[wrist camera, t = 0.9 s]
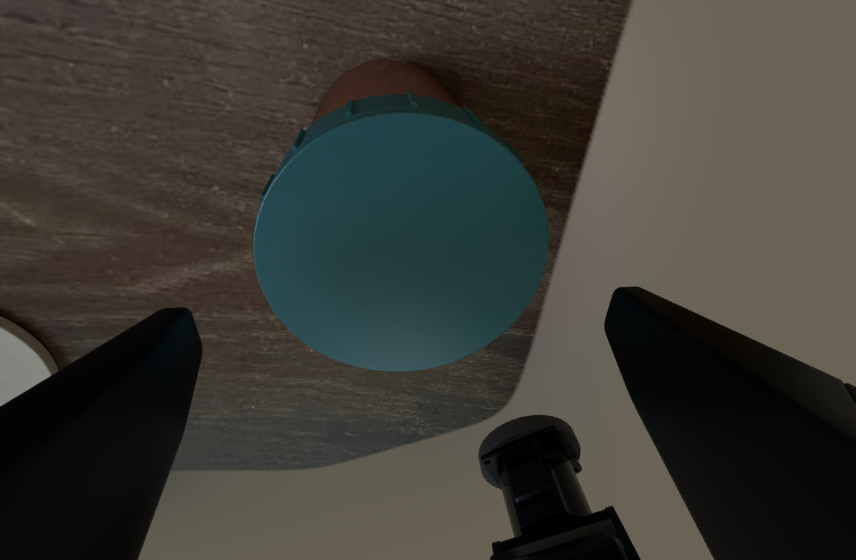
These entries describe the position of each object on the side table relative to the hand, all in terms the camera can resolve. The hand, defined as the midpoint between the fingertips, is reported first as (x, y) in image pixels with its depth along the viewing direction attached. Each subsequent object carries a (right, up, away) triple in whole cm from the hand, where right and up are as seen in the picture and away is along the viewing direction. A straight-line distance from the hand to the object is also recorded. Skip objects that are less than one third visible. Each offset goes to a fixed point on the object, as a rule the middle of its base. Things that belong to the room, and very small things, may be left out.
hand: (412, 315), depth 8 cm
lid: (0, +1, +2) cm, 2 cm away
